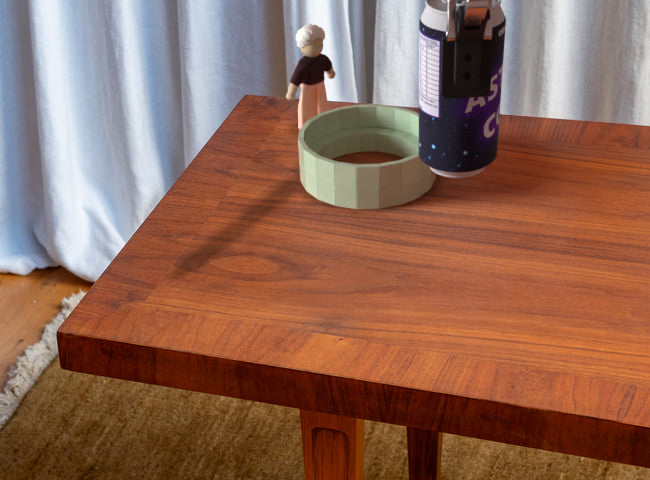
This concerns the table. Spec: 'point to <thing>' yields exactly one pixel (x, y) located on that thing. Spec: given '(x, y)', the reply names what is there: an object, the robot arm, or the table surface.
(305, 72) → the grandmother figurine
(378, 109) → the green faceted ring
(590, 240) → the table surface
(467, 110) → the beverage can
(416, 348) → the table surface
